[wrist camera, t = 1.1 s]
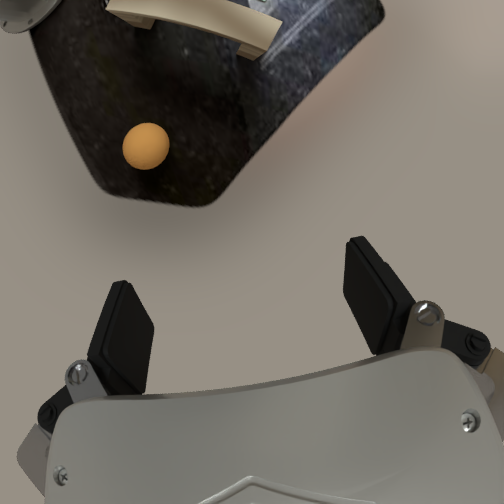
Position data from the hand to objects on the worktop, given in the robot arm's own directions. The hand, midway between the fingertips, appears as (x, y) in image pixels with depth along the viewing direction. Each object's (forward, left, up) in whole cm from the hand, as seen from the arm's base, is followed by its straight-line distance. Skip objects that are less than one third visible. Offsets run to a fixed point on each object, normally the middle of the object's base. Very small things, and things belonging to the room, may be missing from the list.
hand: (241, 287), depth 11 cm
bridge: (-9, +13, -22) cm, 27 cm away
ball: (-9, -1, -20) cm, 22 cm away
